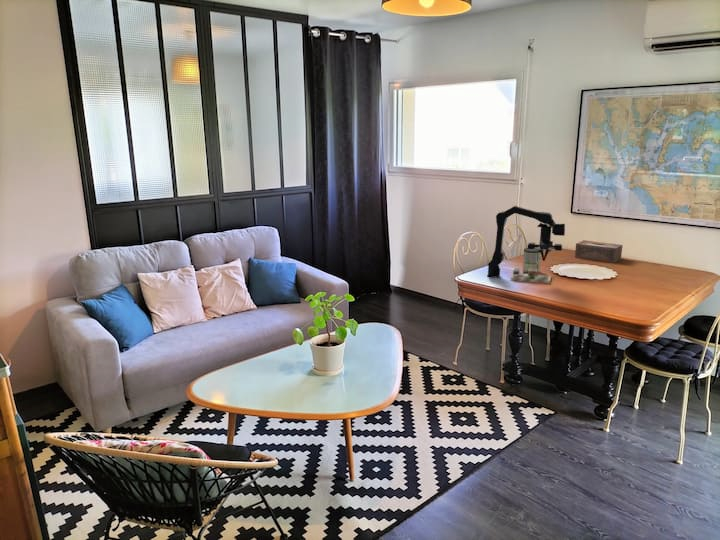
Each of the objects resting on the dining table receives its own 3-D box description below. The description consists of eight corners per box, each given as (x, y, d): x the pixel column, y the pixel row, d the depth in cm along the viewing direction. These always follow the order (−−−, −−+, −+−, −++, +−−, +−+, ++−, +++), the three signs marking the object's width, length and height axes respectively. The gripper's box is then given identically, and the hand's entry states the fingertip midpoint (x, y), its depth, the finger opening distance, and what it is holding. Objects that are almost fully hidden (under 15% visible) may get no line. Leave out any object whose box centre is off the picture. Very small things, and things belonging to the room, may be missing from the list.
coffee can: (520, 269, 332) (522, 247, 328) (537, 269, 331) (538, 247, 327) (524, 273, 322) (525, 251, 318) (541, 273, 321) (542, 251, 317)
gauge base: (510, 280, 307) (511, 272, 306) (512, 275, 318) (513, 267, 317) (549, 283, 299) (550, 274, 298) (550, 277, 310) (551, 269, 309)
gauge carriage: (522, 278, 304) (522, 271, 303) (523, 274, 313) (523, 267, 312) (536, 279, 301) (536, 272, 300) (537, 275, 310) (537, 268, 309)
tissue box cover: (574, 257, 359) (576, 243, 357) (582, 253, 369) (583, 240, 367) (613, 263, 342) (615, 248, 340) (620, 259, 352) (622, 244, 350)
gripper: (527, 236, 295) (526, 263, 299) (562, 238, 288) (560, 265, 292) (529, 233, 305) (527, 258, 309) (562, 234, 298) (560, 260, 302)
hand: (543, 260), depth 302 cm, fingers closed
